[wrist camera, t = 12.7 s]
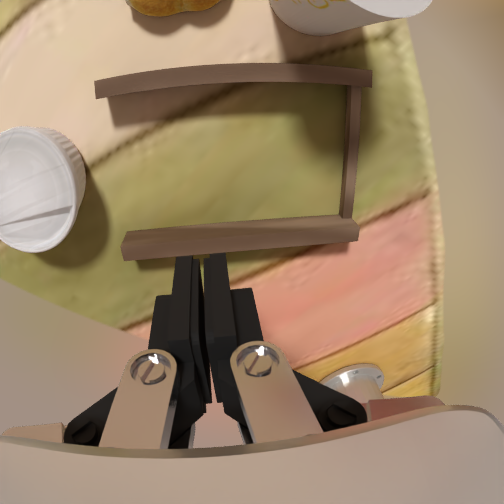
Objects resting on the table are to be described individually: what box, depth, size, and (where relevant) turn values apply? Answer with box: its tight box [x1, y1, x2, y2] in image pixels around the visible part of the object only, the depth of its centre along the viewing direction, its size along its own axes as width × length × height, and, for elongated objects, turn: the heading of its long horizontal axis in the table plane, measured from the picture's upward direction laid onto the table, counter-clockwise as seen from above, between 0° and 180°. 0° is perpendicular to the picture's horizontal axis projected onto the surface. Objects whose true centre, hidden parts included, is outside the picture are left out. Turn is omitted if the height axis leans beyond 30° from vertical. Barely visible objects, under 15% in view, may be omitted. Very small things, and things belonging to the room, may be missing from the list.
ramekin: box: [0, 126, 86, 253], centre depth 24 cm, size 11×11×5 cm
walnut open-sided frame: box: [94, 63, 372, 261], centre depth 26 cm, size 16×22×3 cm
